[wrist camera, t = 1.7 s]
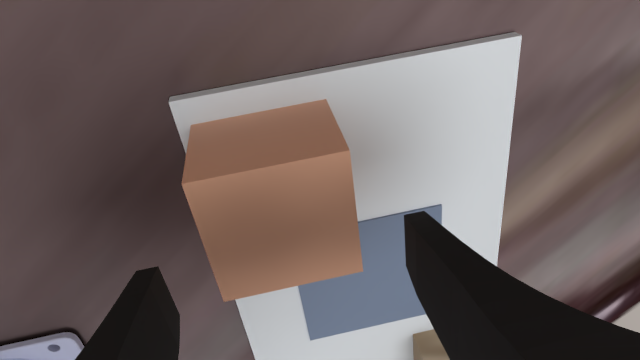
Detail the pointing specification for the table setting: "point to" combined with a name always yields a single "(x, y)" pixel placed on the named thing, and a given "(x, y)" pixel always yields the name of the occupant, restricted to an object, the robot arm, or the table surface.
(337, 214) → the terracotta block
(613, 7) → the table surface
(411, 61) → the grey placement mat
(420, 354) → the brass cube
